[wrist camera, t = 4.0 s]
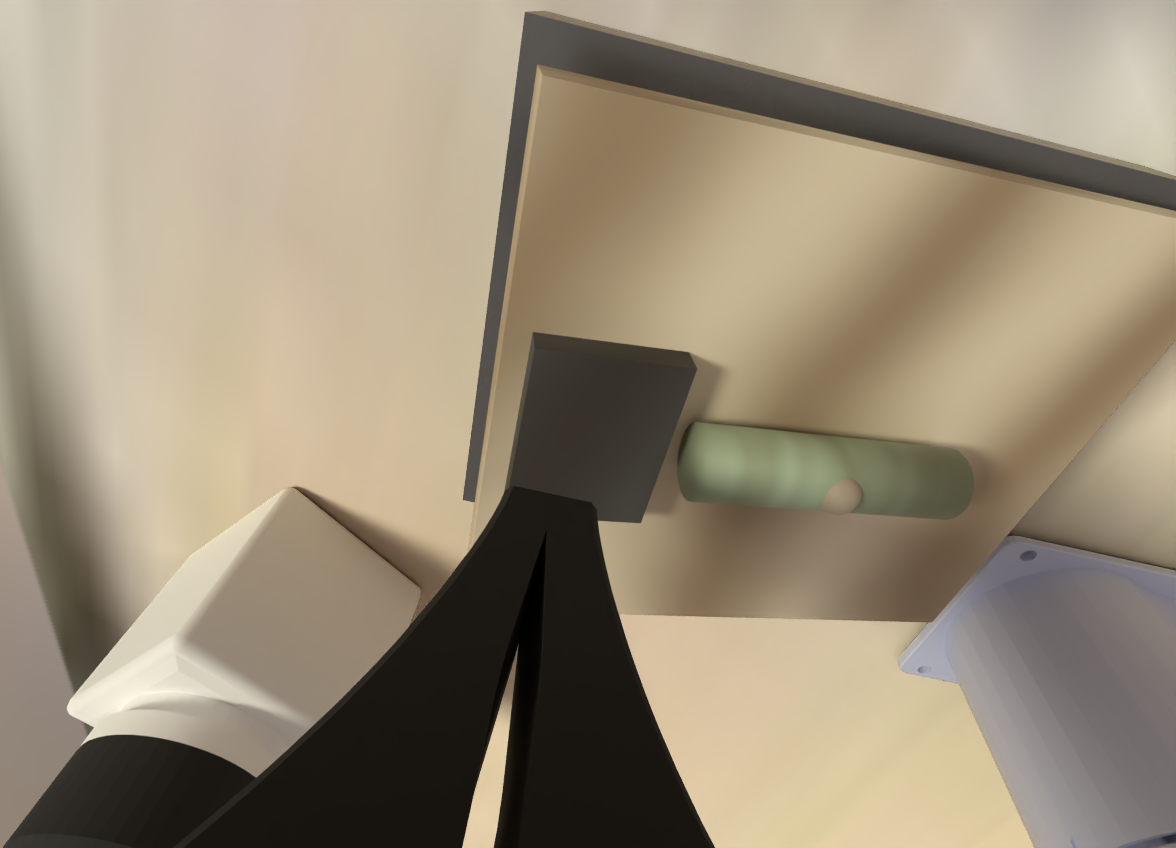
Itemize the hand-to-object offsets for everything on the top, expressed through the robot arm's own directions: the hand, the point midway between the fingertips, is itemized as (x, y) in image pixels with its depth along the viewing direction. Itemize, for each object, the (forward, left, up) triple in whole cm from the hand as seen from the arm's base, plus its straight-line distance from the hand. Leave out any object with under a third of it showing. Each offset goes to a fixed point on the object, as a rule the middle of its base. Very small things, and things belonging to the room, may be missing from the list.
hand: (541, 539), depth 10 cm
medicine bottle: (+9, +15, -10) cm, 20 cm away
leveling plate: (-5, 0, -6) cm, 8 cm away
